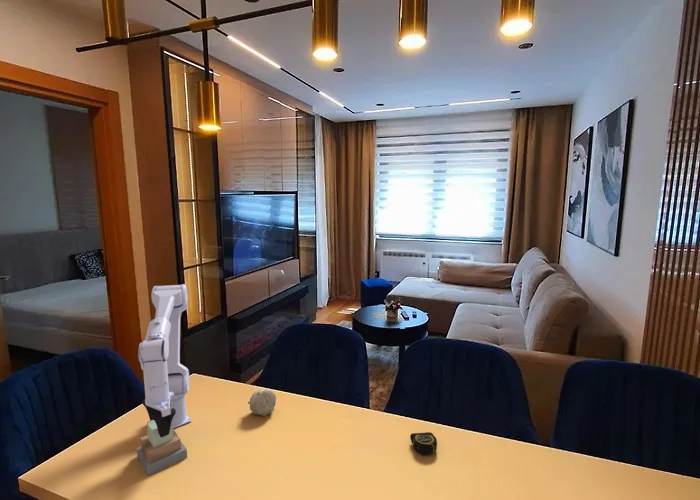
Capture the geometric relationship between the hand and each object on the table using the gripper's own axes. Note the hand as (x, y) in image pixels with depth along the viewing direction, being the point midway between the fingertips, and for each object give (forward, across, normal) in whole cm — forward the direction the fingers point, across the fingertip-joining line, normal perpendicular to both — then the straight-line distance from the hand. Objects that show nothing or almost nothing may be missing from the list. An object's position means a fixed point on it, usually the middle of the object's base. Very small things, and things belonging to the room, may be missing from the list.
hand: (160, 429), depth 102 cm
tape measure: (+9, -47, -56) cm, 74 cm away
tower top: (+6, 0, 0) cm, 6 cm away
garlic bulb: (+9, 0, -31) cm, 32 cm away
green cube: (+3, 0, 0) cm, 3 cm away
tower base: (+9, 0, 0) cm, 9 cm away
